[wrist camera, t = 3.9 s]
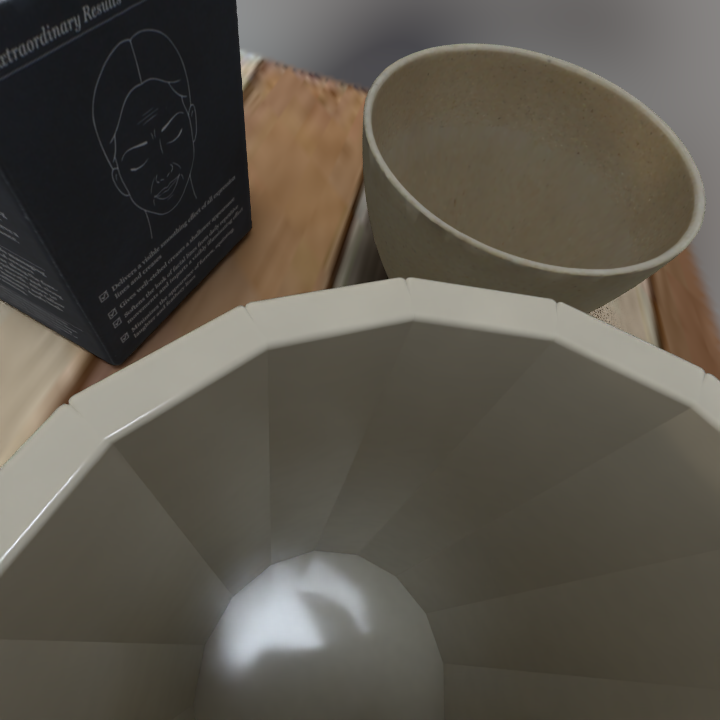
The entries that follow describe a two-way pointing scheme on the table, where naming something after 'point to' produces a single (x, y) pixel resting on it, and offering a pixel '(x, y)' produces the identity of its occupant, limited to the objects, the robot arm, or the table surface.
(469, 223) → the bowl
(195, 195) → the box
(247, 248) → the table surface
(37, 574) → the tumbler
